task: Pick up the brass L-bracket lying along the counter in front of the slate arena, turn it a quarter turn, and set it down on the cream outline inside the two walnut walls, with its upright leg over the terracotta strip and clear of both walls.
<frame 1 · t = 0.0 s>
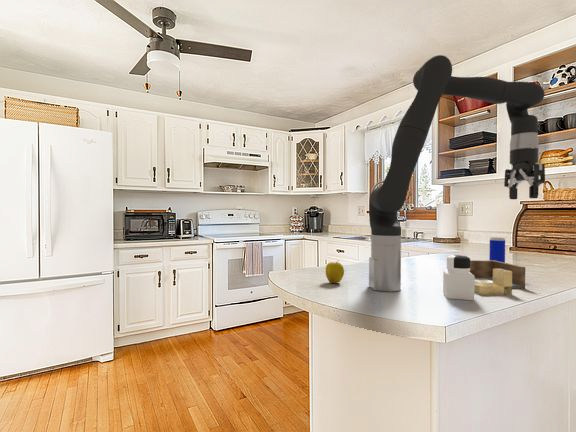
hand: (523, 198, 104), 29 cm above the table, tool pointing down, fingers open, 8 cm apart
medicine bottle: (457, 297, 94), on the table
arena: (486, 283, 112), on the table
apple: (334, 283, 110), on the table
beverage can: (496, 276, 127), on the table
brass bracket: (490, 292, 99), on the table
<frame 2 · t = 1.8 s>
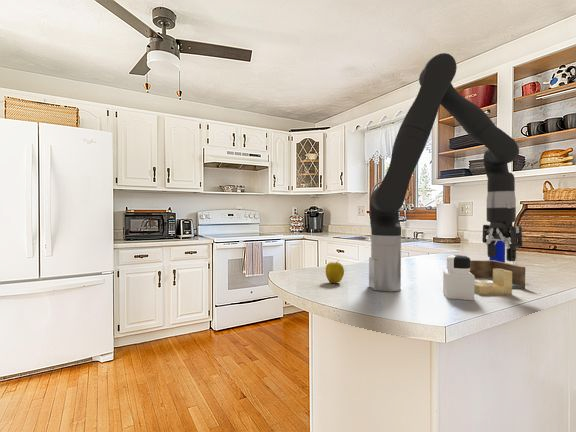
hand: (500, 259, 99), 10 cm above the table, tool pointing down, fingers open, 8 cm apart
nothing on the table moved.
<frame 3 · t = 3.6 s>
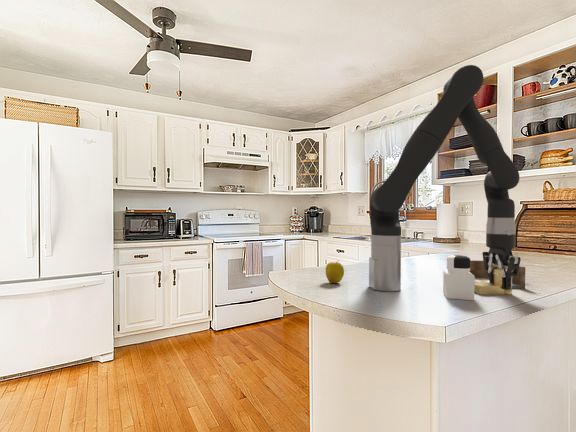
hand: (499, 287, 99), 2 cm above the table, tool pointing down, fingers closed on brass bracket, 5 cm apart
brass bracket: (490, 292, 99), on the table, touching gripper
everything else where it was.
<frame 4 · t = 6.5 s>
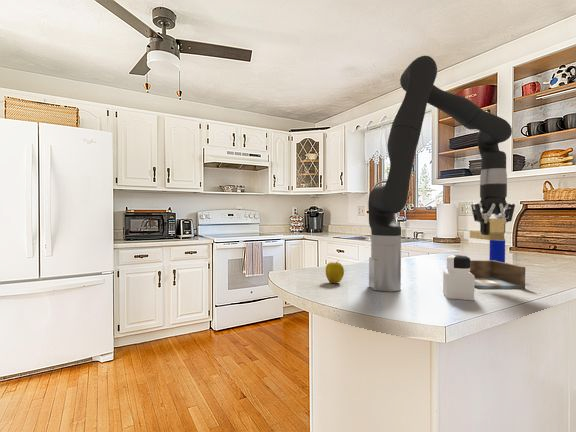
hand: (492, 234, 106), 17 cm above the table, tool pointing down, fingers closed on brass bracket, 5 cm apart
brass bracket: (486, 238, 109), point 16 cm above the table, touching gripper
everything else where it was.
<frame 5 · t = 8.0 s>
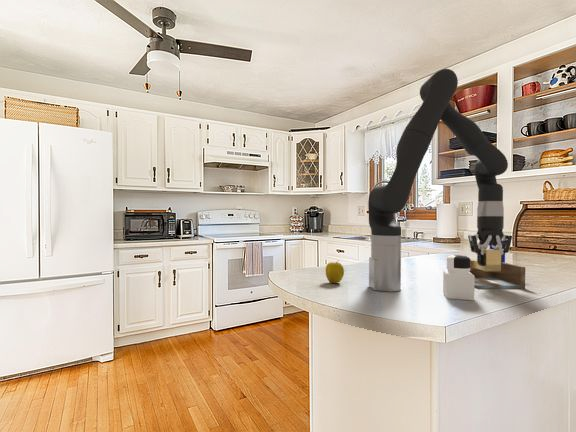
hand: (489, 265, 108), 7 cm above the table, tool pointing down, fingers closed on brass bracket, 5 cm apart
brass bracket: (483, 268, 111), point 5 cm above the table, touching gripper
everything else where it was.
when the fingers open (4 cm above the table, at t = 9.3 s): brass bracket drops 1 cm, resting on arena.
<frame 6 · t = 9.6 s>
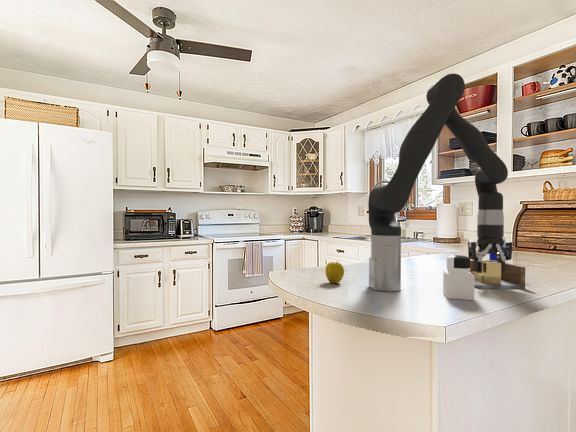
hand: (489, 272, 108), 5 cm above the table, tool pointing down, fingers open, 7 cm apart
brass bracket: (483, 280, 111), point 1 cm above the table, touching arena
everything else where it was.
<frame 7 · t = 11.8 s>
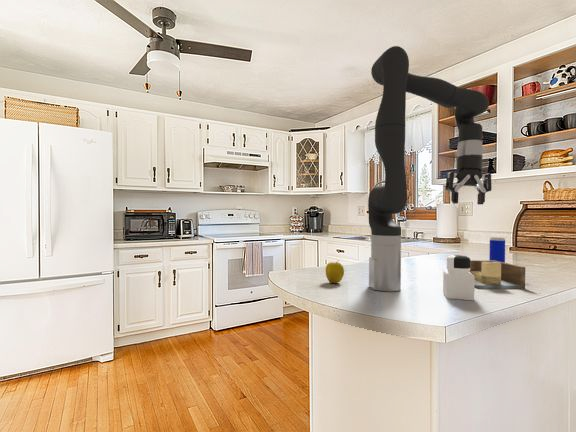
hand: (467, 204, 107), 28 cm above the table, tool pointing down, fingers open, 8 cm apart
nothing on the table moved.
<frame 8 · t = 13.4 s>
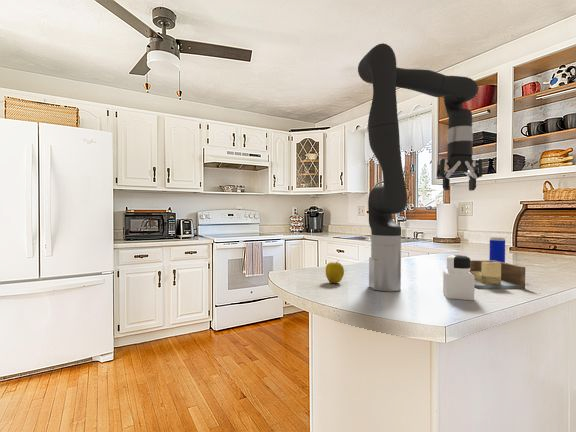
hand: (459, 190, 107), 32 cm above the table, tool pointing down, fingers open, 8 cm apart
nothing on the table moved.
at the end: brass bracket 0.0 cm from the target spot, point 1.1 cm above the table; brass bracket tilted 0°; the gripper is holding nothing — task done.
